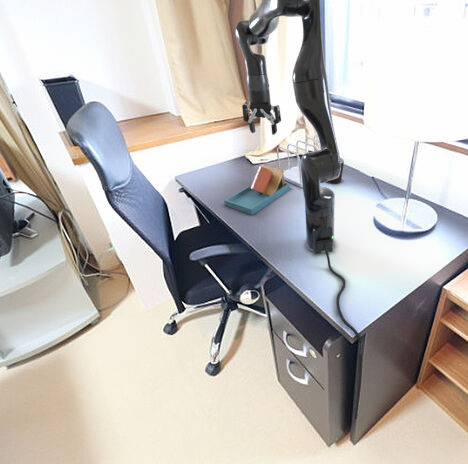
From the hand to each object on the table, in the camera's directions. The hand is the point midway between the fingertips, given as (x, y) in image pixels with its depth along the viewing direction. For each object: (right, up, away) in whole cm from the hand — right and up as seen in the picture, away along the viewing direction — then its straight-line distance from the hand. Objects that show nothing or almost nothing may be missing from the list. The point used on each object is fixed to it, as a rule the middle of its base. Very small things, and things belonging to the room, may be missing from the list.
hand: (263, 133), depth 122 cm
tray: (-5, -23, +16) cm, 28 cm away
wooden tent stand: (-1, -19, +20) cm, 28 cm away
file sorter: (+16, -10, +34) cm, 39 cm away
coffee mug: (+27, -9, +25) cm, 38 cm away
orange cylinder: (-3, -21, +17) cm, 27 cm away
